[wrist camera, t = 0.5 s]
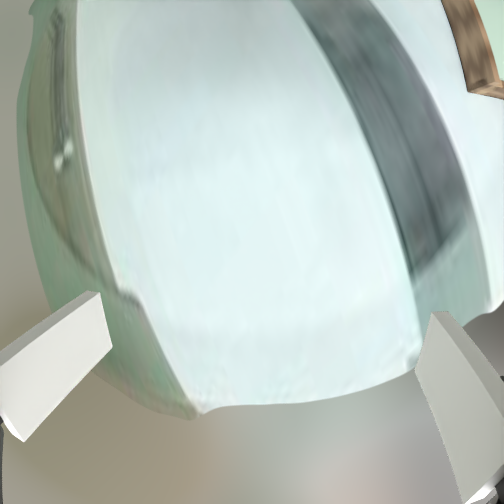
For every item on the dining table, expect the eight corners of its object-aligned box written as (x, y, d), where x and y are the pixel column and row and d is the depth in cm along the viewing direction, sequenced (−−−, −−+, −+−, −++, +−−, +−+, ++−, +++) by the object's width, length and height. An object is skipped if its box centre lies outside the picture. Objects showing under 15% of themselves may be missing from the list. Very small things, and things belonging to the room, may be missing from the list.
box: (432, -20, 22) (448, -42, 15) (501, 3, 20) (521, -11, 13) (467, 92, 27) (495, 81, 21) (533, 108, 25) (560, 104, 18)
